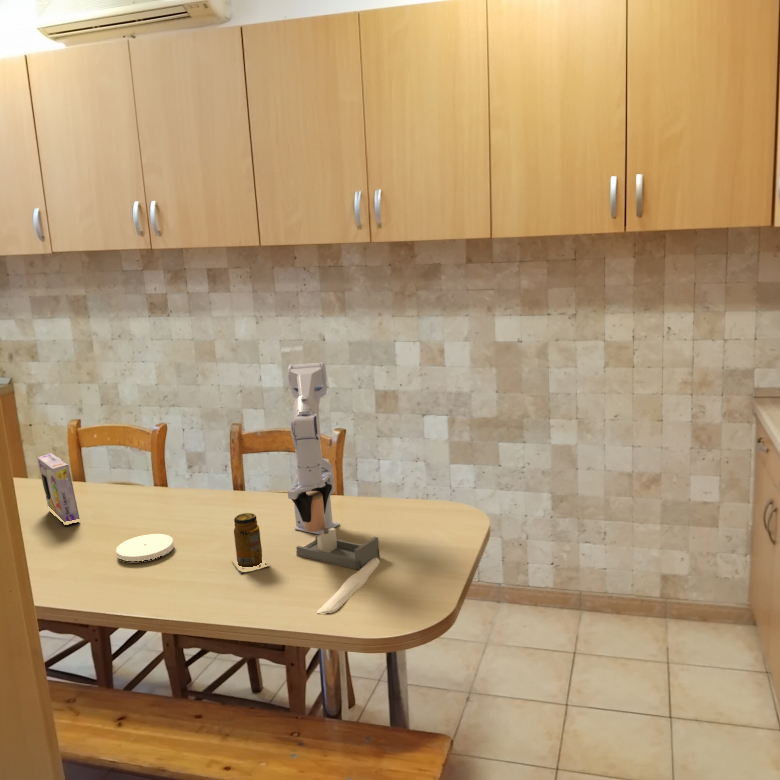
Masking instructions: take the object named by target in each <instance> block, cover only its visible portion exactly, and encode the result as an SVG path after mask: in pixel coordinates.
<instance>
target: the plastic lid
mask: <svg viewBox="0 0 780 780" xmlns="http://www.w3.org/2000/svg"><path fill="white" fill-rule="evenodd" d="M174 546H175V544H174V538H173V537H172V536H171V535H169V534H163V533H150V534H143V535H138V536H135V537H132V538H131V537H130V539H127V540H125V541H123V542H121V543H120V544H119V545H117V547H116V548H115V553H116V557H117V556H118V557H119V558H121V559H123V560H128V561H142V560H143V561H144V560H148V561H151V560H150V559H152V560H155V558H156V559H158V558H157V557H159V558H160V556H162V557H164V556H166V555H168V554H169V553H170V552H172V550H173V549H174V548H175V547H174ZM143 561H142V562H143ZM144 562H145V561H144Z"/></svg>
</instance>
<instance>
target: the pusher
mask: <svg viewBox="0 0 780 780" xmlns="http://www.w3.org/2000/svg"><path fill="white" fill-rule="evenodd" d="M323 530H324V533H322V534H321V535H319V534H318V535H319V536H317V544H318V550H319V551H323V552H328V553H330V552H331V551H333V550H335V549H336V548H337V529H336V528H331V529H329V530H328V528H324V529H323Z"/></svg>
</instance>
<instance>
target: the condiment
mask: <svg viewBox="0 0 780 780" xmlns="http://www.w3.org/2000/svg"><path fill="white" fill-rule="evenodd" d="M233 522H234V528H233V535H234V545H235V552H236V553H235V554H236V560H237V562H238V565H239V566H242V567H253V566H257V565H259V564H260V563H262V557H263V548H262V542H261V532H260V526H259V525H258V520H257V516H256V514H254V513H253V512H252V513H251V512H245V513H240V514H237V515H236V516H235V517H234V519H233ZM267 564H269V563H268V562H267ZM267 564H266V563H265V565H267Z"/></svg>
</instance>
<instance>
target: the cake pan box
mask: <svg viewBox="0 0 780 780" xmlns="http://www.w3.org/2000/svg"><path fill="white" fill-rule="evenodd" d="M37 461H38V462H37V463H38V467H39V472H40V475H41V481H42V485H43V489H44V493H45V501H46V505H47V507H48V506H49V507H50V508H51V509H52V510H53V511H54V512H55V513H56V514H57V515H58V516H59V517H60V518H61V519H62V520H63V521H64V522H66V521H72V520H76V519H80V514H79V509H78V503H77V500H76V499H77V498H76V495H75V489H74V483H73V481H72V476H71V470H70V465H69V464H68V463H66V462H64V461H63V460H62V459H61V458H60V457H59V456H56V455H55V454H53V452H50V453H47V454H44V455H41V456H37ZM80 520H81V519H80Z"/></svg>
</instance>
